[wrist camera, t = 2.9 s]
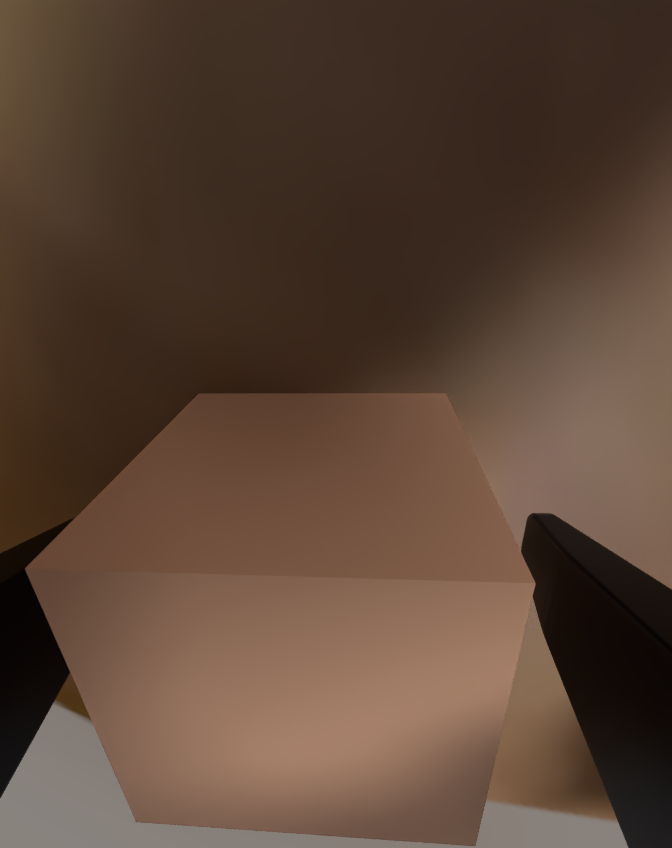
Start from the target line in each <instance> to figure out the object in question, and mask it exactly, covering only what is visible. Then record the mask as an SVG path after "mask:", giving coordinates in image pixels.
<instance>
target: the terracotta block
mask: <svg viewBox="0 0 672 848" xmlns="http://www.w3.org/2000/svg"><path fill="white" fill-rule="evenodd" d="M25 570H26V573H27V575H28V577H29V579H30V582H31V584H32V586H33V589H34V591H35V593H36V595H37V598H38V600H39V602H40V604H41V607H42V609H43V611H44V614H45V616H46V618H47V620H48V623H49V625H50V627H51V629H52V632H53V634H54V636H55V639H56V641H57V643H58V645H59V648H60V650H61V652H62V654H63V657H64V659H65V661H66V664H67V666H68V668H69V670H70V673H71V675H72V677H73V679H74V682H75V684H76V686H77V689H78V691H79V693H80V695H81V698H82V700H83V702H84V705H85V707H86V709H87V711H88V714H89V716H90V718H91V720H92V723H93V725H94V727H95V729H96V732H97V734H98V736H99V739H100V741H101V743H102V745H103V748H104V750H105V752H106V754H107V757H108V759H109V761H110V764H111V766H112V768H113V770H114V773H115V775H116V777H117V779H118V782H119V784H120V786H121V789H122V791H123V793H124V795H125V798H126V800H127V802H128V805H129V807H130V809H131V811H132V814H133V816H134V818H135V820H136V822H142V823H157V824H171V825H185V826H198V827H212V828H226V829H241V830H254V831H268V832H283V833H297V834H311V835H326V836H339V837H353V838H368V839H381V840H395V841H409V842H423V843H438V844H451V845H467V846H475V845H476V841H477V837H478V832H479V828H480V824H481V819H482V815H483V811H484V806H485V802H486V797H487V793H488V789H489V784H490V780H491V776H492V771H493V767H494V763H495V758H496V754H497V749H498V745H499V741H500V736H501V732H502V728H503V723H504V719H505V715H506V710H507V706H508V702H509V697H510V693H511V688H512V684H513V680H514V675H515V671H516V667H517V662H518V658H519V654H520V649H521V645H522V640H523V636H524V632H525V627H526V623H527V619H528V614H529V610H530V606H531V601H532V597H533V592H534V588H535V584H536V583H535V581H534V579H533V577H532V575H531V573H530V570H529V568H528V566H527V564H526V562H525V560H524V558H523V556H522V553H521V551H520V549H519V547H518V545H517V543H516V541H515V539H514V536H513V534H512V532H511V530H510V528H509V526H508V524H507V522H506V519H505V517H504V515H503V513H502V511H501V509H500V507H499V505H498V503H497V500H496V498H495V496H494V494H493V492H492V490H491V488H490V486H489V483H488V481H487V479H486V477H485V475H484V473H483V471H482V469H481V466H480V464H479V462H478V460H477V458H476V456H475V454H474V452H473V449H472V447H471V445H470V443H469V441H468V439H467V437H466V435H465V432H464V430H463V428H462V426H461V424H460V422H459V420H458V418H457V415H456V413H455V411H454V409H453V407H452V405H451V403H450V401H449V399H448V396H447V394H446V393H199V394H198V395H197V396H196V397H195V398H194V399H193V400H192V401H191V402H190V403H189V404H188V405H187V406H186V407H185V408H184V409H183V410H182V411H181V412H180V413H179V414H178V415H177V416H176V417H175V418H174V419H173V420H172V421H171V422H170V423H169V424H168V425H167V426H166V427H165V428H164V429H163V430H162V431H161V432H160V433H159V434H158V435H157V436H156V437H155V438H154V439H153V440H152V441H151V442H150V443H149V444H148V445H147V446H146V447H145V448H144V449H143V450H142V451H141V452H140V453H139V454H138V455H137V456H136V457H135V458H134V459H133V460H132V461H131V462H130V463H129V464H128V465H127V466H126V467H125V468H124V469H123V470H122V471H121V472H120V473H119V474H118V475H117V476H116V477H115V478H114V479H113V480H112V481H111V482H110V483H109V484H108V485H107V486H106V487H105V488H104V489H103V490H102V491H101V492H100V493H99V494H98V495H97V496H96V498H95V499H94V500H93V501H92V502H91V503H90V504H89V505H88V506H87V507H86V508H85V509H84V510H83V511H82V512H81V513H80V514H79V515H78V516H77V517H76V518H75V519H74V520H73V521H72V522H71V523H70V524H69V525H68V526H67V527H66V528H65V529H64V530H63V531H62V532H61V533H60V534H59V535H58V536H57V537H56V538H55V539H54V540H53V541H52V542H51V543H50V544H49V545H48V546H47V547H46V548H45V549H44V550H43V551H42V552H41V553H40V554H39V555H38V556H37V557H36V558H35V559H34V560H33V561H32V562H31V563H30V564H29V565H28V566H27V567H26V568H25Z"/></svg>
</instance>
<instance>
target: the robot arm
mask: <svg viewBox="0 0 672 848" xmlns="http://www.w3.org/2000/svg"><path fill="white" fill-rule="evenodd" d="M75 518H76V517H75ZM75 518H73V519H70V520H68V521H66V522H64V523H62V524H60V525H58V526H56V527H54V528H52V529H50V530H48V531H46V532H44V533H42V534H40V535H37V536H35V537H33V538H31V539H29V540H27V541H25V542H23V543H21V544H19V545H17V546H15V547H13V548H11V549H9V550H7V551H4V552H2V553H0V798H1V796H2V794H3V793H4V791H5V789H6V787H7V785H8V784H9V782H10V780H11V778H12V776H13V775H14V773H15V771H16V769H17V767H18V766H19V764H20V762H21V760H22V758H23V757H24V755H25V753H26V751H27V749H28V747H29V746H30V744H31V742H32V740H33V738H34V737H35V735H36V733H37V731H38V730H39V728H40V726H41V724H42V722H43V720H44V719H45V716H46V715H47V713H48V711H49V709H50V708H51V706H52V704H53V702H54V701H55V699H56V697H57V695H58V693H59V692H60V690H61V688H62V686H63V684H64V683H65V681H66V679H67V677H68V675H69V674H70V670H69V668H68V666H67V664H66V661H65V659H64V657H63V654H62V652H61V650H60V648H59V645H58V643H57V641H56V639H55V636H54V634H53V632H52V629H51V627H50V625H49V623H48V620H47V618H46V616H45V614H44V611H43V609H42V607H41V604H40V602H39V600H38V598H37V595H36V593H35V591H34V589H33V586H32V584H31V582H30V579H29V577H28V575H27V573H26V570H25V568H26V567H27V566H28V565H29V564H30V563H31V562H32V561H33V560H34V559H35V558H36V557H37V556H38V555H39V554H40V553H41V552H42V551H43V550H44V549H45V548H46V547H47V546H48V545H49V544H50V543H51V542H52V541H53V540H54V539H55V538H56V537H57V536H58V535H59V534H60V533H61V532H62V531H63V530H64V529H65V528H66V527H67V526H68V525H69V524H70V523H71V522H72V521H73V520H74V519H75ZM521 553H522V556H523V558H524V560H525V562H526V564H527V566H528V568H529V570H530V573H531V575H532V577H533V579H534V581H535V583H536V584H535V588H534V592H533V599H534V603H535V607H536V610H537V614H538V617H539V621H540V624H541V628H542V631H543V634H544V637H545V639H546V642H547V645H548V647H549V650H550V652H551V655H552V657H553V660H554V662H555V665H556V667H557V670H558V672H559V675H560V677H561V680H562V682H563V685H564V687H565V690H566V692H567V695H568V697H569V700H570V702H571V705H572V707H573V710H574V712H575V715H576V717H577V720H578V722H579V725H580V727H581V730H582V732H583V735H584V737H585V740H586V742H587V745H588V747H589V750H590V752H591V755H592V757H593V760H594V762H595V765H596V767H597V770H598V772H599V775H600V777H601V780H602V782H603V785H604V787H605V790H606V792H607V795H608V797H609V800H610V802H611V805H612V807H613V810H614V812H615V815H616V817H617V820H618V822H619V825H620V827H621V830H622V832H623V835H624V837H625V840H626V842H627V845H628V847H629V848H672V589H670V588H669V587H667V586H665V585H664V584H662V583H661V582H659V581H657V580H656V579H654V578H653V577H651V576H650V575H648V574H646V573H645V572H643V571H642V570H640V569H639V568H637V567H635V566H634V565H632V564H631V563H629V562H628V561H626V560H624V559H623V558H621V557H620V556H618V555H617V554H615V553H613V552H612V551H610V550H609V549H607V548H606V547H604V546H602V545H601V544H599V543H598V542H596V541H595V540H593V539H591V538H590V537H588V536H587V535H585V534H583V533H582V532H580V531H579V530H577V529H576V528H574V527H572V526H571V525H569V524H568V523H566V522H565V521H563V520H561V519H560V518H558V517H557V516H555V515H553V514H550V513H532V514H530V515H529V516H528V518H527V522H526V527H525V532H524V537H523V542H522V547H521Z"/></svg>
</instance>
